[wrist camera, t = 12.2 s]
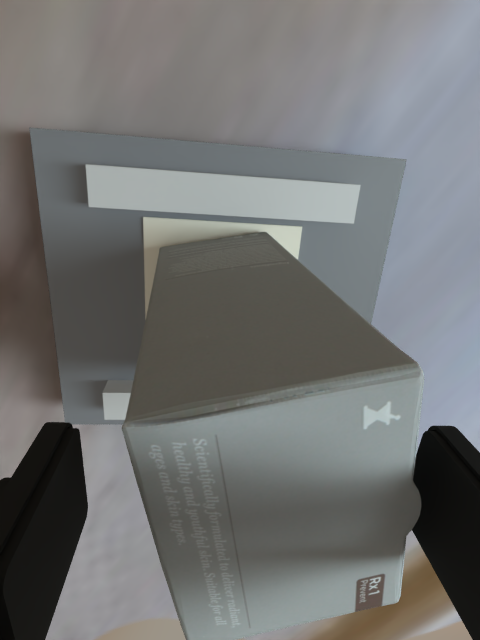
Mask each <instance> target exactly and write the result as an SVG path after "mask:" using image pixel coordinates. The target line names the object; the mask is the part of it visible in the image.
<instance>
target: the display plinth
mask: <svg viewBox="0 0 480 640" xmlns="http://www.w3.org/2000/svg"><path fill="white" fill-rule="evenodd" d="M29 129H30V137H31V145H32V154H33V162H34V170H35V178H36V187H37V195H38V203H39V211H40V220H41V228H42V236H43V244H44V253H45V261H46V269H47V277H48V286H49V294H50V302H51V310H52V319H53V327H54V335H55V343H56V352H57V360H58V368H59V376H60V385H61V393H62V401H63V409H64V418H65V423H71V424H123V423H124V421H125V418H126V413H127V409H128V404H129V399H130V394H131V390H132V385H133V380H134V375H135V370H136V365H137V360H138V355H139V351H140V346H141V341H142V336H143V331H144V326H145V321H146V316H147V311H148V306H149V300H150V295H151V290H152V286H153V280H154V275H155V271H156V265H157V260H158V255H159V249H160V248H161V247H165V246H171V245H178V244H185V243H191V242H198V241H205V240H212V239H219V238H225V237H232V236H239V235H246V234H253V233H260V232H267V233H268V234H269V235H270V236H272V237H273V238H274V239H275V240H276V241H277V242H278V243H279V244H281V245H282V246H283V247H284V248H285V249H286V250H287V251H288V252H290V253H291V254H292V255H293V256H294V257H295V258H296V259H297V260H299V261H300V262H301V263H302V264H303V265H304V266H305V267H306V268H308V269H309V270H310V271H311V272H312V273H313V274H314V275H316V276H317V277H318V278H319V279H320V280H321V281H322V282H324V283H325V284H326V285H327V286H328V287H329V288H330V289H332V290H333V291H334V292H335V293H336V294H337V295H338V296H340V297H341V298H342V299H343V300H344V301H345V302H346V303H347V304H349V305H350V306H351V307H352V308H353V309H354V310H355V311H357V312H358V313H359V314H360V315H361V316H362V317H363V318H365V319H366V320H367V321H368V322H369V323H370V324H371V322H372V317H373V312H374V308H375V303H376V298H377V294H378V289H379V285H380V280H381V275H382V271H383V266H384V261H385V257H386V252H387V248H388V243H389V238H390V234H391V229H392V225H393V220H394V215H395V211H396V206H397V201H398V197H399V192H400V188H401V183H402V178H403V174H404V169H405V164H406V160H407V159H396V158H384V157H372V156H361V155H349V154H337V153H325V152H313V151H301V150H290V149H278V148H266V147H254V146H242V145H230V144H219V143H207V142H195V141H183V140H171V139H159V138H148V137H136V136H124V135H112V134H100V133H88V132H77V131H65V130H53V129H41V128H29Z"/></svg>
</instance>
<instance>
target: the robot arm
mask: <svg viewBox="0 0 480 640" xmlns="http://www.w3.org/2000/svg"><path fill="white" fill-rule="evenodd" d="M413 482H414V484H415V486H416V487H417V489H418V491H419V494H420V498H421V511H420V516H419V518H418V520H417V522H416V524H415V526H414V527H413V529H412V531H413V533H414V534H415V536H416V538H417V540H418V542H419V543H420V545H421V547H422V549H423V551H424V552H425V554H426V556H427V558H428V560H429V561H430V563H431V565H432V567H433V569H434V571H435V572H436V574H437V576H438V578H439V580H440V581H441V583H442V585H443V587H444V589H445V590H446V592H447V594H448V596H449V598H450V599H451V601H452V603H453V605H454V607H455V609H456V610H457V612H458V614H459V616H460V618H461V619H462V621H463V623H464V625H465V627H466V628H467V630H468V632H469V634H470V636H471V637H472V639H473V640H480V453H479V451H478V450H477V449H476V448H475V447H474V446H473V445H472V444H471V443H470V442H469V441H468V440H467V439H466V438H465V436H464V435H463V434H462V433H461V432H460V431H459V430H458V429H457V428H456V427H454V426H431V427H430V428H429V429H428V431H425V432H424V434H423V436H422V439H421V442H420V445H419V448H418V451H417V454H416V460H415V468H414V475H413ZM87 511H88V502H87V493H86V484H85V476H84V467H83V458H82V449H81V440H80V432H79V429H77V428H73V427H72V424H71V423H65V422H47V423H45V424H44V426H43V427H42V429H41V430H40V432H39V434H38V435H37V437H36V438H35V440H34V442H33V443H32V445H31V446H30V448H29V450H28V451H27V453H26V455H25V456H24V458H23V459H22V461H21V463H20V464H19V466H18V467H17V469H16V471H15V472H14V474H13V476H12V477H11V478H3V479H1V480H0V640H45V638H46V635H47V633H48V630H49V627H50V624H51V621H52V618H53V615H54V612H55V609H56V606H57V603H58V600H59V597H60V594H61V591H62V588H63V585H64V582H65V579H66V577H67V574H68V571H69V568H70V565H71V562H72V559H73V556H74V553H75V550H76V547H77V544H78V541H79V538H80V535H81V532H82V529H83V526H84V524H85V520H86V517H87Z"/></svg>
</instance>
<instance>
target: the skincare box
mask: <svg viewBox="0 0 480 640" xmlns="http://www.w3.org/2000/svg"><path fill="white" fill-rule="evenodd" d="M423 384H424V374H423V370H422V369H421V367H420V366H419V364H418V363H417V362H416V361H414V360H413V359H412V358H411V357H409V356H408V355H407V354H405V353H404V352H403V351H401V350H400V349H399V348H398V347H397V346H395V345H394V344H393V343H392V342H391V341H390V340H388V339H387V338H386V337H385V336H384V335H383V334H382V333H380V332H379V331H378V330H377V329H376V328H375V327H374V326H373V325H371V324H370V323H369V322H368V321H367V320H366V319H365V318H363V317H362V316H361V315H360V314H359V313H358V312H357V311H355V310H354V309H353V308H352V307H351V306H350V305H349V304H347V303H346V302H345V301H344V300H343V299H342V298H341V297H340V296H338V295H337V294H336V293H335V292H334V291H333V290H332V289H330V288H329V287H328V286H327V285H326V284H325V283H324V282H322V281H321V280H320V279H319V278H318V277H317V276H316V275H314V274H313V273H312V272H311V271H310V270H309V269H308V268H306V267H305V266H304V265H303V264H302V263H301V262H300V261H299V260H297V259H296V258H295V257H294V256H293V255H292V254H291V253H290V252H288V251H287V250H286V249H285V248H284V247H283V246H282V245H281V244H279V243H278V242H277V241H276V240H275V239H274V238H273V237H272V236H270V235H269V234H268V233H267V232H260V233H253V234H246V235H239V236H232V237H225V238H219V239H212V240H205V241H198V242H191V243H185V244H178V245H171V246H165V247H161V248H160V249H159V255H158V260H157V265H156V271H155V275H154V280H153V286H152V290H151V295H150V300H149V306H148V311H147V316H146V321H145V326H144V331H143V336H142V341H141V346H140V351H139V355H138V360H137V365H136V370H135V375H134V380H133V385H132V390H131V394H130V399H129V404H128V409H127V413H126V418H125V421H124V423H123V426H122V431H123V434H124V438H125V441H126V445H127V448H128V452H129V456H130V459H131V463H132V466H133V470H134V474H135V477H136V481H137V484H138V488H139V491H140V494H141V498H142V501H143V504H144V508H145V511H146V514H147V518H148V521H149V525H150V528H151V532H152V535H153V538H154V542H155V545H156V549H157V552H158V555H159V559H160V562H161V566H162V569H163V572H164V575H165V578H166V581H167V584H168V587H169V590H170V593H171V596H172V599H173V602H174V606H175V609H176V612H177V615H178V618H179V621H180V623H181V627H182V629H183V632H184V635H185V638H186V640H236V639H241V638H245V637H249V636H253V635H257V634H261V633H266V632H270V631H274V630H278V629H282V628H286V627H290V626H295V625H299V624H304V623H309V622H313V621H318V620H322V619H327V618H331V617H335V616H340V615H344V614H348V613H352V612H356V611H361V610H365V609H370V608H374V607H379V606H384V605H389V604H394V603H397V602H398V601H399V599H400V595H401V584H402V575H403V566H404V555H405V544H406V536H407V535H408V533H409V532H410V531H411V530H412V529H413V527H414V526H415V524H416V522H417V520H418V518H419V516H420V511H421V498H420V494H419V491H418V489H417V487H416V486H415V484H414V482H413V475H414V468H415V460H416V452H417V443H418V434H419V424H420V414H421V404H422V394H423Z"/></svg>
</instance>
